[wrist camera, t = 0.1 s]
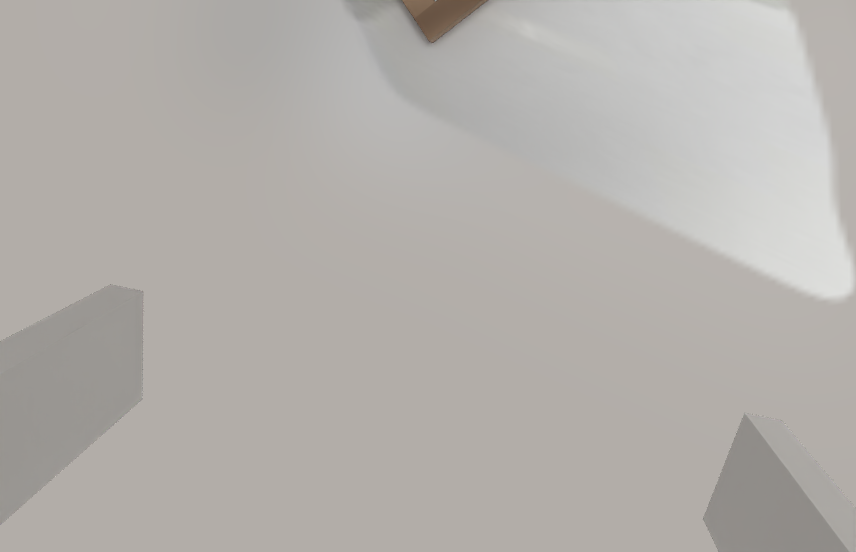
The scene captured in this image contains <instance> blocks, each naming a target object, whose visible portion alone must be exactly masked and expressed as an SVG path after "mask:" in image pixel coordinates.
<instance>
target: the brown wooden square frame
mask: <svg viewBox="0 0 856 552" xmlns="http://www.w3.org/2000/svg"><path fill="white" fill-rule="evenodd" d="M402 1H403V3H404V4H405V6H406V7H407V9H408V10H409V12H410V13H411V15H412V16H413V18H414V19H415V21H416V22H417V24H418V25H419V27H420V28H421V30H422V31H423V33H424V34H425V36H426V37H427V39H428V40H429V41H430V42H431V43H433V42H435V41H436V40H437V39H438V38H440V37H441V36H442V35H444V34H445V33H446V32H448V31H449V30H450V29H451V28H453V27H454V26H455V25H457V24H458V23H459V22H460V21H462V20H463V19H464V18H466V17H467V16H468V15H470V14H471V13H472V12H473V11H475V10H476V9H477V8H479V7H480V6H481V5H482V4H484V3H485V2H486V1H488V0H437V1H436V2H435V1H434V0H402Z"/></svg>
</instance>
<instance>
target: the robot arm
mask: <svg viewBox="0 0 856 552" xmlns="http://www.w3.org/2000/svg"><path fill="white" fill-rule="evenodd" d="M142 373H143V291H140V290H135V289H130V288H126V287H121V286H116V285H111V284H110V285H108V286H106V287H104V288H103V289H101V290H99V291H97V292H95V293H93V294H91V295H89V296H87V297H85V298H83V299H81V300H79V301H77V302H75V303H74V304H71V305H70V306H68V307H66V308H64V309H62V310H60V311H58V312H56V313H54V314H52V315H50V316H48V317H46V318H44V319H42V320H40V321H38V322H37V323H35V324H33V325H31V326H29V327H27V328H25V329H23V330H21V331H19V332H17V333H15V334H13V335H11V336H9V337H7V338H6V339H4V340H2V341H0V525H1V524H2V523H3V522H4V521H5V520H7V519H8V518H9V517H10V516H11V515H12V514H13V513H15V512H16V511H17V510H18V509H19V508H20V507H21V506H22V505H23V504H25V503H26V502H27V501H28V500H29V499H30V498H32V497H33V495H35V494H36V493H37V492H38V491H39V490H41V489H42V488H43V487H44V486H45V485H46V484H47V483H48V482H49V481H51V480H52V479H53V478H54V477H55V476H56V475H57V474H59V473H60V472H61V471H62V470H63V469H64V468H65V467H67V466H68V465H69V464H70V463H71V462H72V461H73V460H74V459H76V458H77V457H78V456H79V455H80V454H81V453H82V452H83V451H85V450H86V449H87V448H88V447H89V446H90V445H91V444H93V443H94V442H95V441H96V440H97V439H98V438H99V437H100V436H101V435H103V434H104V433H105V432H106V431H107V430H108V429H109V428H110V427H112V426H113V425H114V424H115V423H116V422H117V421H118V420H119V419H121V418H122V417H123V416H124V415H125V414H126V413H128V412H129V411H130V410H131V409H132V408H133V407H134V406H135V405H137V404H138V403H139V402H140V401H141V400H142V380H143V379H142V377H143V374H142ZM703 520H704V522H705V524H706V526H707V528H708V530H709V532H710V534H711V537H712V539H713V541H714V543H715V545H716V547H717V549H718V552H856V507H855V506H854V505H853V504H852V503H851V501H850V500H849V499H848V498H847V497H846V496H845V494H844V493H843V492H842V491H841V490H840V488H839V487H838V486H837V485H836V484H835V483H834V481H833V480H832V479H831V478H830V477H829V475H828V474H827V473H826V472H825V471H824V470H823V468H822V467H821V466H820V465H819V464H818V463H817V461H816V460H815V459H814V458H813V457H812V455H811V454H810V453H809V452H808V451H807V449H806V448H805V447H804V446H803V445H802V444H801V442H800V441H799V440H798V439H797V438H796V436H795V435H794V434H793V433H792V432H791V431H790V429H789V428H788V427H787V426H786V425H785V423H784V422H783V421H782V420H778V419H773V418H768V417H763V416H758V415H753V414H748V413H744V416H743V418H742V421H741V423H740V426H739V429H738V431H737V433H736V436H735V438H734V441H733V444H732V446H731V449H730V451H729V454H728V456H727V459H726V461H725V464H724V466H723V469H722V472H721V474H720V477H719V479H718V482H717V484H716V487H715V490H714V492H713V494H712V497H711V500H710V502H709V505H708V507H707V510H706V512H705V515H704V517H703Z"/></svg>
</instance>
